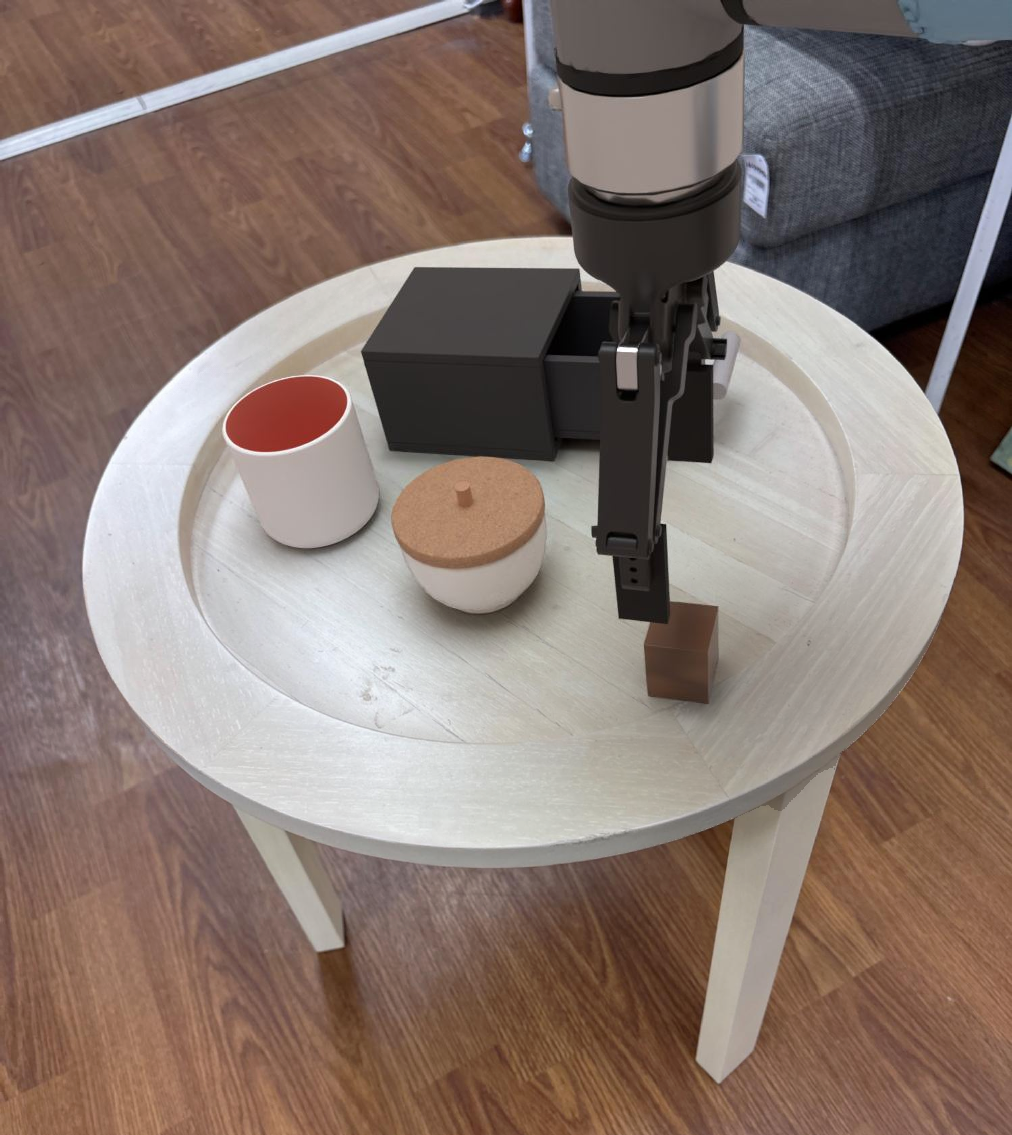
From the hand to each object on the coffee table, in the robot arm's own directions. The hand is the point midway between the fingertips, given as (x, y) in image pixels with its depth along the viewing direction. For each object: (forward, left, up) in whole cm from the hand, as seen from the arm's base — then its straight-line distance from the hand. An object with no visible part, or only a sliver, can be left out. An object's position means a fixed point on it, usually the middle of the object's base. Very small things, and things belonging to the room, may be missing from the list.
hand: (669, 532), depth 62 cm
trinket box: (+15, -6, -12) cm, 21 cm away
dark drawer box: (+21, -27, -12) cm, 37 cm away
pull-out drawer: (+9, -27, -11) cm, 31 cm away
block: (-1, +1, -12) cm, 12 cm away
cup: (+31, -12, -12) cm, 36 cm away
